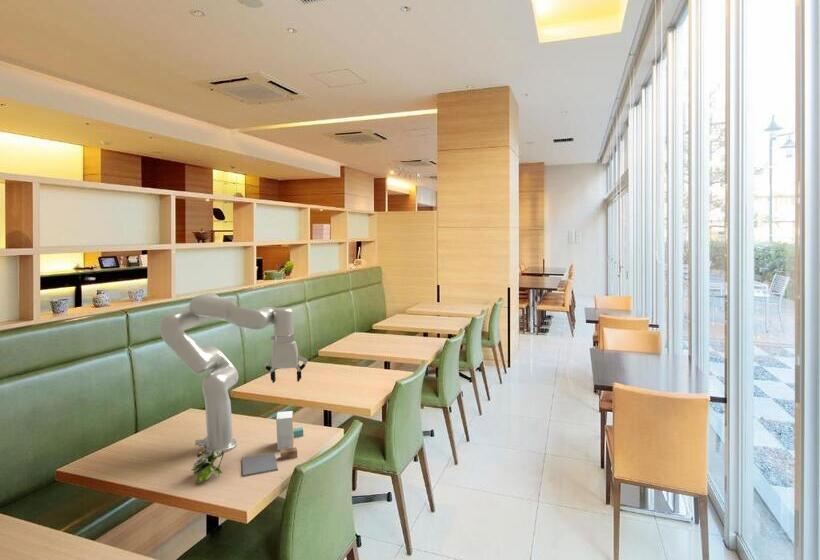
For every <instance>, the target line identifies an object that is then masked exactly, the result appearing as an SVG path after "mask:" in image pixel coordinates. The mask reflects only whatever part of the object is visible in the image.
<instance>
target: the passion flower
mask: <svg viewBox="0 0 820 560" xmlns="http://www.w3.org/2000/svg"><path fill="white" fill-rule="evenodd" d="M206 451H207V449H206V450H204V449H203V450H201V451H200V452H198V453H196V454H197V456H196V457H197V458H199V459H197V460H196V462H194V463H193V467H192V468H191V469H190V471H192V472H193V473H192V474H193V475H196V476H195V483H196V485H198V484H200V483H202V482H203V481H207V480H208V479H210V477H211V476H213V473H214V472H215V473H216V474H218V476H220V475H221V474H222V475H223V471H222V470H221V464H222V461H223V458H224V455H225V452H223V451H220V452H219V453H216V452H217V451H216V450H212V451H209V452H206ZM220 457H221V458H220ZM217 458H220V461H219V463H218V465H217V466H215V465H214V463H215V462H216V461H217Z"/></svg>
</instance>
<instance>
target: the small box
mask: <svg viewBox="0 0 820 560" xmlns="http://www.w3.org/2000/svg"><path fill="white" fill-rule="evenodd" d="M275 423H276V440H277V441H276V444H277V445H276V446H277V447H276V448H277V450H276V451H280V450H283V449H289V448H294V443H295V442H294V441H295V438H294V435H293V429H294V410H289V411H277V413H276V422H275Z"/></svg>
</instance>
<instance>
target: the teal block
mask: <svg viewBox="0 0 820 560" xmlns="http://www.w3.org/2000/svg"><path fill="white" fill-rule="evenodd" d="M293 435H294V439H297V438H300V437H304V429H303V427H295V428H294V427H293Z"/></svg>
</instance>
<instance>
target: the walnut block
mask: <svg viewBox="0 0 820 560" xmlns="http://www.w3.org/2000/svg"><path fill="white" fill-rule="evenodd" d="M279 451H280V461H286V460H290V459H297V458H298V450H297V447H293V448H289V449H283V450H279Z"/></svg>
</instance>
